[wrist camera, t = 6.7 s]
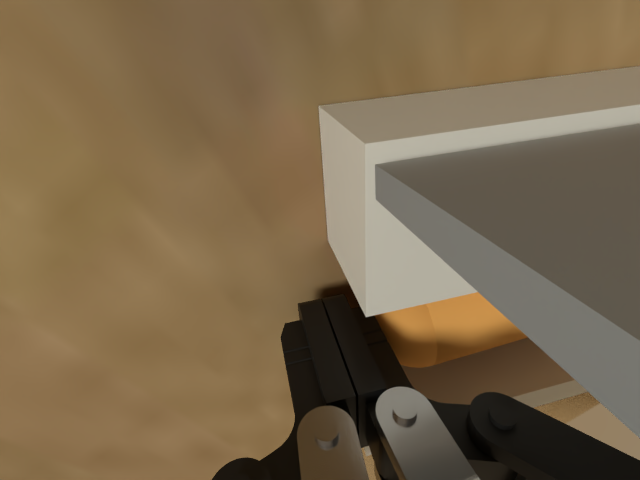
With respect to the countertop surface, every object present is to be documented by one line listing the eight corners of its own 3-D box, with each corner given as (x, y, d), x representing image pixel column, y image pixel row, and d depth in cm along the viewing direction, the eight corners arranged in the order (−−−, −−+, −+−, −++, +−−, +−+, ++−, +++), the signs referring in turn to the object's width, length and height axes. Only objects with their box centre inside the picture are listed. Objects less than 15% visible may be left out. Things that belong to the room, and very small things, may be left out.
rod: (352, 266, 12) (387, 333, 9) (680, 185, 13) (784, 223, 11) (357, 328, 13) (388, 399, 11) (649, 249, 15) (733, 295, 13)
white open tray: (318, 106, 9) (364, 144, 6) (868, 37, 12) (1078, 41, 9) (337, 367, 14) (366, 456, 11) (715, 274, 17) (816, 325, 14)
